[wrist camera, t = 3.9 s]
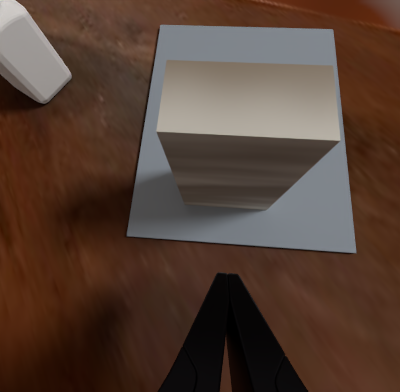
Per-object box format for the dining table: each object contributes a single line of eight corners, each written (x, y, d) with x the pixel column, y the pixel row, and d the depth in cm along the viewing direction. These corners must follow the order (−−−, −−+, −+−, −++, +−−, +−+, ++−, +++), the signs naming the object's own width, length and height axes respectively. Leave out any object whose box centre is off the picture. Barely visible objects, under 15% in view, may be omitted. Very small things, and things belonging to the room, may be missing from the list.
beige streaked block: (266, 210, 17) (340, 140, 8) (184, 204, 18) (156, 131, 8) (266, 171, 18) (333, 65, 8) (188, 167, 18) (166, 59, 9)
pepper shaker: (77, 77, 22) (-20, -61, 12) (46, 109, 21) (-82, -14, 12) (45, 58, 22) (-67, -85, 13) (14, 88, 21) (-129, -43, 12)
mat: (353, 253, 16) (356, 253, 16) (127, 236, 17) (126, 235, 17) (331, 32, 22) (333, 29, 22) (161, 28, 23) (160, 24, 23)
